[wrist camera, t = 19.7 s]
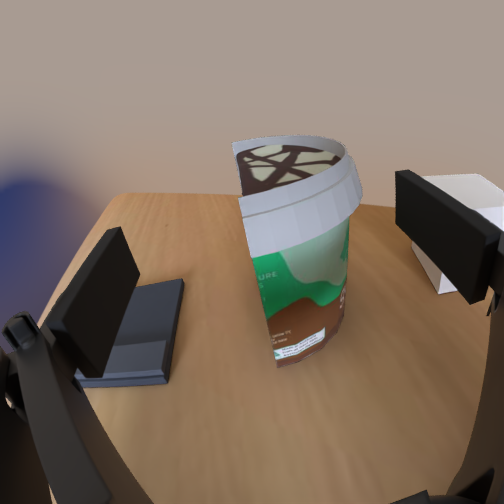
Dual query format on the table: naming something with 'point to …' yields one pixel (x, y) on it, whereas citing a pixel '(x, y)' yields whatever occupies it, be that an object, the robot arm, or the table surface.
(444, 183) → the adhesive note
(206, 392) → the table surface
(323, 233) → the food container
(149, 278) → the table surface
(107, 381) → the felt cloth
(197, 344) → the table surface
